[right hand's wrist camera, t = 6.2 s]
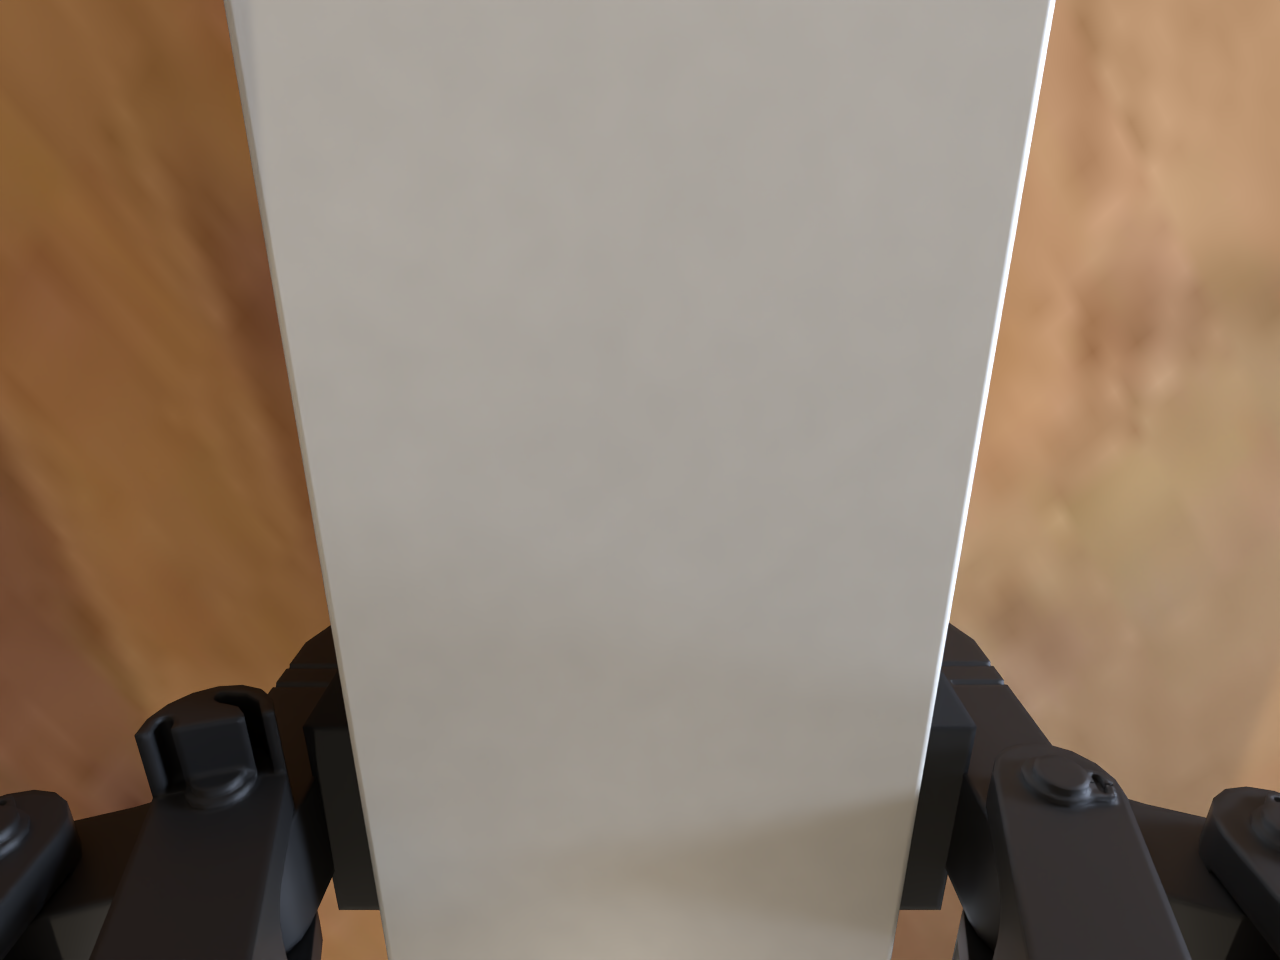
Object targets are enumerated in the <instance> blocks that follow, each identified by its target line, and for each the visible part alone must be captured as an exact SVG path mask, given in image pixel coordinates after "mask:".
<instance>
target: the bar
mask: <svg viewBox="0 0 1280 960" xmlns="http://www.w3.org/2000/svg"><path fill="white" fill-rule="evenodd" d="M1054 5H1055V0H224V6H225V11H226V17H227V23H228V29H229V35H230V40H231V46H232V52H233V58H234V64H235V70H236V75H237V81H238V87H239V93H240V99H241V105H242V110H243V116H244V122H245V128H246V134H247V139H248V145H249V151H250V157H251V163H252V169H253V174H254V180H255V186H256V192H257V198H258V204H259V209H260V215H261V221H262V227H263V233H264V238H265V244H266V250H267V256H268V262H269V268H270V273H271V279H272V285H273V291H274V297H275V303H276V308H277V314H278V320H279V326H280V332H281V337H282V343H283V349H284V355H285V361H286V367H287V372H288V378H289V384H290V390H291V396H292V402H293V407H294V413H295V419H296V425H297V431H298V436H299V442H300V448H301V454H302V460H303V466H304V471H305V477H306V483H307V489H308V495H309V501H310V506H311V512H312V518H313V524H314V530H315V535H316V541H317V547H318V553H319V559H320V565H321V570H322V576H323V582H324V588H325V594H326V600H327V605H328V611H329V617H330V623H331V629H332V634H333V640H334V646H335V652H336V658H337V664H338V669H339V675H340V681H341V687H342V693H343V699H344V704H345V710H346V716H347V722H348V728H349V733H350V739H351V745H352V751H353V757H354V763H355V768H356V774H357V780H358V786H359V792H360V798H361V803H362V809H363V815H364V821H365V827H366V832H367V838H368V844H369V850H370V856H371V862H372V867H373V873H374V879H375V885H376V891H377V897H378V902H379V908H380V914H381V920H382V926H383V931H384V937H385V943H386V949H387V955H388V960H891V956H892V950H893V944H894V938H895V933H896V927H897V921H898V915H899V909H900V903H901V898H902V892H903V886H904V880H905V874H906V868H907V863H908V857H909V851H910V845H911V839H912V833H913V828H914V822H915V816H916V810H917V804H918V798H919V793H920V787H921V781H922V775H923V769H924V763H925V758H926V752H927V746H928V740H929V734H930V728H931V723H932V717H933V711H934V705H935V699H936V693H937V688H938V682H939V676H940V670H941V664H942V658H943V653H944V647H945V641H946V635H947V629H948V623H949V618H950V612H951V606H952V600H953V594H954V588H955V583H956V577H957V571H958V565H959V559H960V553H961V548H962V542H963V536H964V530H965V524H966V518H967V513H968V507H969V501H970V495H971V489H972V483H973V478H974V472H975V466H976V460H977V454H978V448H979V443H980V437H981V431H982V425H983V419H984V413H985V408H986V402H987V396H988V390H989V384H990V378H991V373H992V367H993V361H994V355H995V349H996V343H997V338H998V332H999V326H1000V320H1001V314H1002V308H1003V303H1004V297H1005V291H1006V285H1007V279H1008V273H1009V268H1010V262H1011V256H1012V250H1013V244H1014V238H1015V233H1016V227H1017V221H1018V215H1019V209H1020V203H1021V198H1022V192H1023V186H1024V180H1025V174H1026V168H1027V163H1028V157H1029V151H1030V145H1031V139H1032V133H1033V128H1034V122H1035V116H1036V110H1037V104H1038V98H1039V93H1040V87H1041V81H1042V75H1043V69H1044V63H1045V58H1046V52H1047V46H1048V40H1049V34H1050V29H1051V23H1052V17H1053V11H1054Z"/></svg>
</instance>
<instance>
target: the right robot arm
mask: <svg viewBox="0 0 1280 960" xmlns="http://www.w3.org/2000/svg"><path fill="white" fill-rule="evenodd" d="M135 739H136V742H137V746H138V749H139V752H140V756H141V759H142V762H143V766H144V769H145V772H146V776H147V779H148V782H149V786H150V789H151V792H152V796H153V800H152V802H151V803H147V804H144V805H141V806H137V807H134V808H129V809H125V810H120V811H116V812H112V813H107V814H103V815H98V816H94V817H90V818H85V819H81V820H76V821H74V820H73V817H72V814H71V811H70V809H69V806H68V803H67V801H66V800H64V799H63V798H62V797H60V796H59V795H58V794H57V793H55V792H48V791H39V790H30V791H24V792H18V793H12V794H6V795H3V796H0V960H321V952H322V941H323V939H322V933H321V926H320V920H319V916H318V911H317V910H318V907H319V905H320V903H321V901H322V898H323V896H324V894H325V892H326V889H327V887H328V885H329V883H330V880H331V878H333V883H334V888H335V893H336V898H337V903H338V908H339V910H380V908H379V902H378V897H377V891H376V885H375V879H374V873H373V867H372V862H371V856H370V850H369V844H368V838H367V832H366V827H365V821H364V815H363V809H362V803H361V798H360V792H359V786H358V780H357V774H356V768H355V763H354V757H353V751H352V745H351V739H350V733H349V728H348V722H347V716H346V710H345V704H344V699H343V693H342V687H341V681H340V675H339V669H338V664H337V658H336V652H335V646H334V640H333V634H332V629H331V625H330V626H329V627H328V628H326V629H325V630H323V631H322V632H320V633H319V634H317V635H316V636H315V637H313V638H312V639H310V640H309V641H307V642H306V643H305V644H304V646H303V647H302V648H301V650H300V651H299V653H298V654H297V655H296V657H295V658H294V659H293V661H292V662H291V663H290V668H289V669H286V670H285V672H284V673H283V674H282V676H281V677H280V678H279V680H278V681H277V682H276V687H273V688H272V689H271V691H270V692H269V693H268V694H266V693H265V692H264V691H263V690H262V689H259V688H254V687H249V686H245V685H233V686H218V687H214V688H210V689H206V690H203V691H199V692H195V693H192V694H190V695H187V696H185V697H183V698H181V699H179V700H176V701H174V702H172V703H170V704H168V705H166V706H165V707H163V708H162V709H161V710H159V711H158V712H157V713H155V714H154V715H152V716H151V717H150V718H148V719H147V720H146V721H145V723H144V724H143V725H142V727H141V728H140V729H139V730H138V732H137V733H136V734H135ZM947 875H948V876H949V878H950V880H951V882H952V884H953V887H954V889H955V891H956V893H957V896H958V898H959V900H960V902H961V905H962V907H963V911H962V916H961V920H960V925H959V930H958V935H957V939H956V944H955V949H954V953H953V958H952V960H1280V793H1278V792H1275V791H1271V790H1265V789H1258V788H1252V787H1239V788H1230V789H1225V790H1224V791H1222V792H1221V793H1220V794H1218V795H1217V796H1216V797H1214V798H1213V801H1212V804H1211V807H1210V810H1209V812H1208V815H1207V818H1204V817H1200V816H1196V815H1191V814H1187V813H1182V812H1178V811H1174V810H1169V809H1165V808H1160V807H1156V806H1151V805H1147V804H1143V803H1140V802H1137V801H1133V800H1130V799H1128V798H1127V796H1126V795H1125V793H1124V792H1123V790H1122V789H1121V787H1120V786H1119V784H1118V783H1117V781H1116V780H1115V779H1114V778H1113V777H1112V776H1110V775H1109V774H1108V773H1107V772H1106V771H1104V770H1103V769H1102V768H1101V767H1099V766H1098V765H1097V764H1096V763H1094V762H1092V761H1090V760H1088V759H1086V758H1084V757H1082V756H1080V755H1078V754H1076V753H1074V752H1072V751H1069V750H1066V749H1062V748H1059V747H1055V746H1052V745H1051V743H1050V742H1049V741H1048V739H1047V738H1046V737H1045V735H1044V734H1043V733H1042V731H1041V730H1040V728H1039V727H1038V726H1037V724H1036V723H1035V722H1034V720H1033V719H1032V718H1031V716H1030V715H1029V714H1028V712H1027V711H1026V710H1025V708H1024V707H1023V705H1022V704H1021V703H1020V701H1019V700H1018V699H1017V697H1016V696H1015V695H1014V693H1013V692H1012V691H1011V689H1010V688H1009V687H1008V685H1004V680H1003V678H1002V677H1001V676H1000V674H999V673H998V672H997V670H996V669H995V668H994V666H991V665H990V661H989V660H988V658H987V657H986V655H985V654H984V653H983V651H982V650H981V649H980V647H979V646H978V645H977V643H976V642H975V641H974V640H973V639H972V638H970V637H969V636H967V635H966V634H965V633H963V632H962V631H960V630H959V629H957V628H956V627H954V626H953V625H951V624H950V623H948V629H947V635H946V641H945V647H944V653H943V658H942V664H941V670H940V676H939V682H938V688H937V693H936V699H935V705H934V711H933V717H932V723H931V728H930V734H929V740H928V746H927V752H926V758H925V763H924V769H923V775H922V781H921V787H920V793H919V798H918V804H917V810H916V816H915V822H914V828H913V833H912V839H911V845H910V851H909V857H908V863H907V868H906V874H905V880H904V886H903V892H902V898H901V903H900V909H899V910H941V905H942V900H943V895H944V890H945V885H946V880H947Z"/></svg>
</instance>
